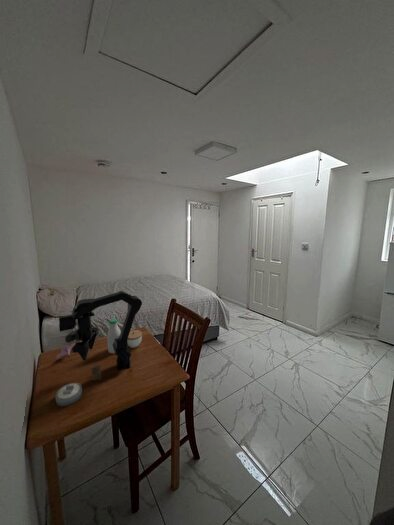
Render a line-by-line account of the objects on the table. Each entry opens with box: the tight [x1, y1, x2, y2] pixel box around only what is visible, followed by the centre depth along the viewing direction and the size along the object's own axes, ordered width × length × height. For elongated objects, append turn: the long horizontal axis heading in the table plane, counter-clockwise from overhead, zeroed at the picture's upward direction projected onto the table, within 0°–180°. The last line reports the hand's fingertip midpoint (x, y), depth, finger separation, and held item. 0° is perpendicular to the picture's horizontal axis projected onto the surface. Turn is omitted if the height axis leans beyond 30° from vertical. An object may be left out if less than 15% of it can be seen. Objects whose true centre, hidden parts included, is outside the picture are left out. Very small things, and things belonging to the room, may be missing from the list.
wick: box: [90, 364, 103, 381], centre depth 105 cm, size 4×1×7 cm, turn 101°
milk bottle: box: [106, 318, 121, 354], centre depth 129 cm, size 8×8×20 cm
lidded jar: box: [127, 329, 143, 349], centre depth 136 cm, size 11×11×9 cm
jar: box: [55, 382, 83, 407], centre depth 94 cm, size 10×10×4 cm
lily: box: [56, 341, 76, 361], centre depth 121 cm, size 12×12×10 cm
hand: (87, 354), depth 105 cm, fingers open, 9 cm apart
